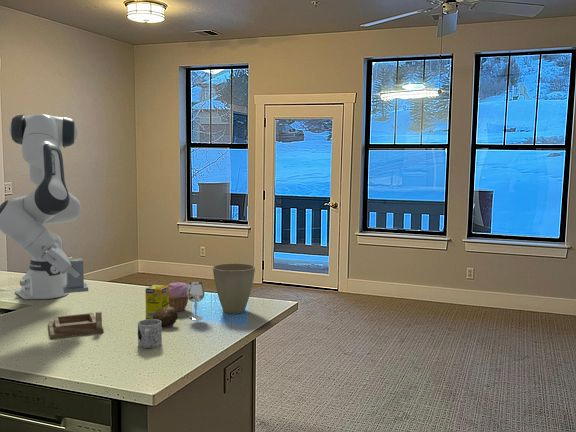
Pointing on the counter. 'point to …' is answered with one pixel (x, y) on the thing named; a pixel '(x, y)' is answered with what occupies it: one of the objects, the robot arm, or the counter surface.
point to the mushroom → (166, 316)
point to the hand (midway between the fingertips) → (77, 274)
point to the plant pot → (233, 285)
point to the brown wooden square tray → (76, 325)
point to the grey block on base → (73, 282)
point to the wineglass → (195, 296)
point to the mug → (149, 333)
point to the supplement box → (156, 299)
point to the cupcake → (178, 295)
